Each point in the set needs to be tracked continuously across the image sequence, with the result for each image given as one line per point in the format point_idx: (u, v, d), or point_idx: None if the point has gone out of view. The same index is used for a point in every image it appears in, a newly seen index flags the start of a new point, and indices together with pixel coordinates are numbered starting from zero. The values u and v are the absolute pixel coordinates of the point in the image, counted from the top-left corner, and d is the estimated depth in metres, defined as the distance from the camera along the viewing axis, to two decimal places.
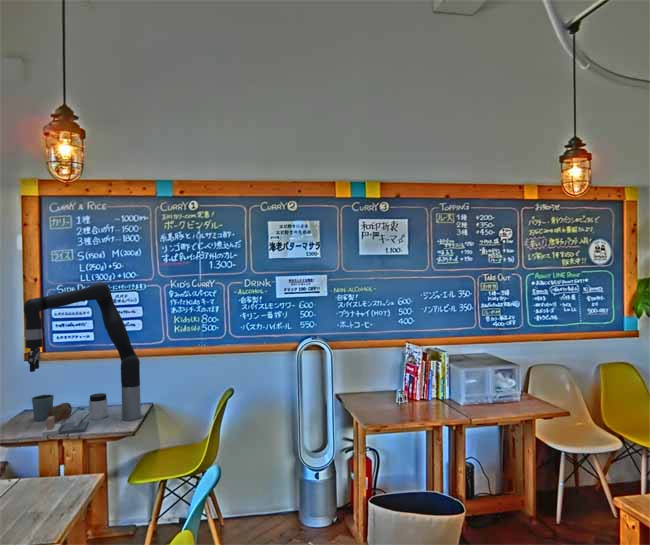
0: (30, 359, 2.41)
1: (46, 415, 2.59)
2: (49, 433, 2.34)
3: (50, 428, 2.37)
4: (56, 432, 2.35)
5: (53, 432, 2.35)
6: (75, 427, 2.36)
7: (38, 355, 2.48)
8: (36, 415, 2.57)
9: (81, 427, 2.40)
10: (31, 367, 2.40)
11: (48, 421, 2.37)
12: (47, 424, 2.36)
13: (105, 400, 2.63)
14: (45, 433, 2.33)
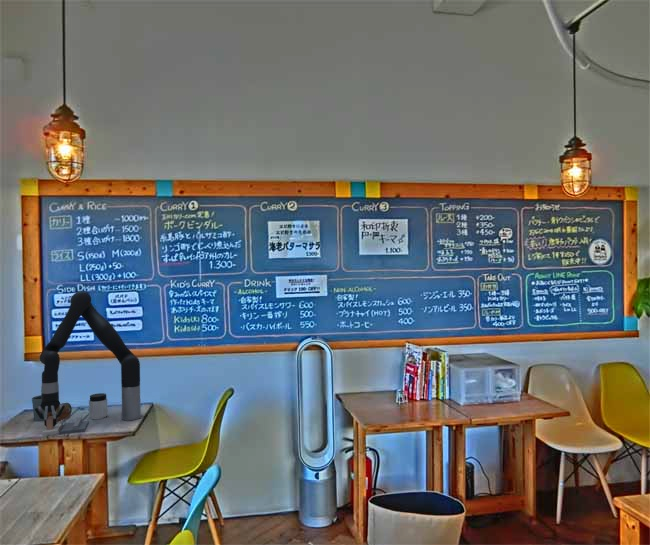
0: (55, 413, 2.40)
1: None
2: (49, 433, 2.34)
3: (50, 428, 2.37)
4: (56, 432, 2.35)
5: (53, 432, 2.35)
6: (75, 427, 2.36)
7: None
8: (36, 415, 2.57)
9: (81, 427, 2.40)
10: (56, 421, 2.40)
11: (48, 421, 2.37)
12: (47, 424, 2.36)
13: (105, 400, 2.63)
14: (45, 433, 2.33)
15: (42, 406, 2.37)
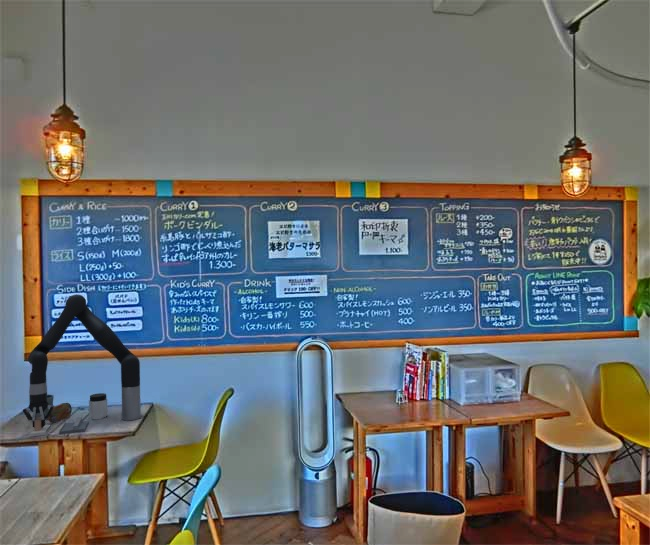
0: (43, 414, 2.38)
1: None
2: (37, 434, 2.32)
3: (38, 429, 2.35)
4: (44, 433, 2.33)
5: (41, 433, 2.33)
6: (75, 427, 2.36)
7: None
8: (36, 415, 2.57)
9: (81, 427, 2.40)
10: (44, 422, 2.39)
11: (36, 422, 2.35)
12: (35, 425, 2.35)
13: (105, 400, 2.63)
14: (33, 434, 2.32)
15: (30, 407, 2.36)
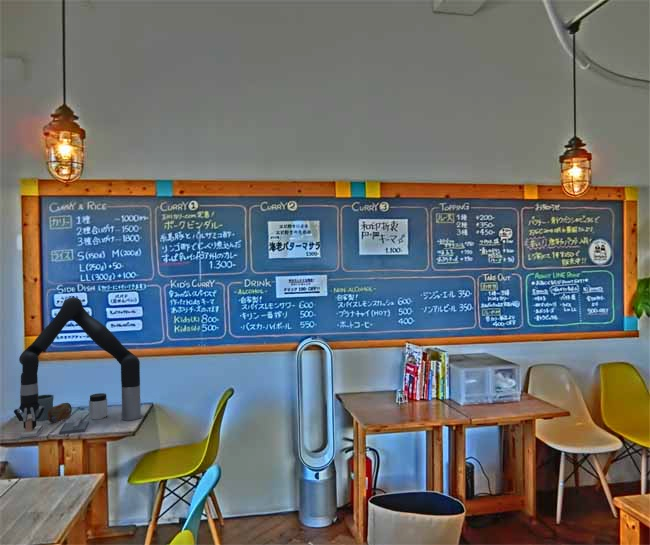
0: (34, 415, 2.37)
1: (46, 415, 2.59)
2: (28, 435, 2.31)
3: (29, 430, 2.34)
4: (35, 434, 2.32)
5: (32, 434, 2.32)
6: (75, 427, 2.36)
7: None
8: (36, 415, 2.57)
9: (81, 427, 2.40)
10: None
11: (27, 423, 2.34)
12: (26, 426, 2.34)
13: (105, 400, 2.63)
14: (24, 435, 2.31)
15: (21, 408, 2.35)
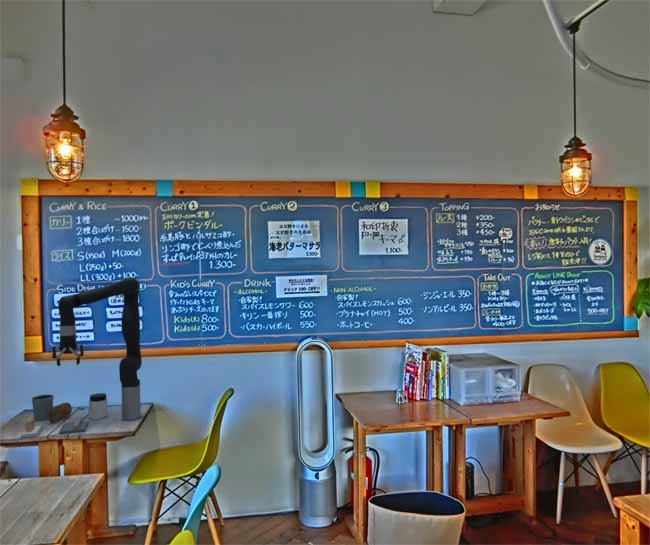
0: (76, 353, 2.53)
1: (46, 415, 2.59)
2: (28, 435, 2.31)
3: (29, 430, 2.34)
4: (35, 434, 2.32)
5: (32, 434, 2.32)
6: (75, 427, 2.36)
7: None
8: (36, 415, 2.57)
9: (81, 427, 2.40)
10: (79, 360, 2.54)
11: (27, 423, 2.34)
12: (26, 426, 2.34)
13: (105, 400, 2.63)
14: (24, 435, 2.31)
15: (60, 348, 2.50)
